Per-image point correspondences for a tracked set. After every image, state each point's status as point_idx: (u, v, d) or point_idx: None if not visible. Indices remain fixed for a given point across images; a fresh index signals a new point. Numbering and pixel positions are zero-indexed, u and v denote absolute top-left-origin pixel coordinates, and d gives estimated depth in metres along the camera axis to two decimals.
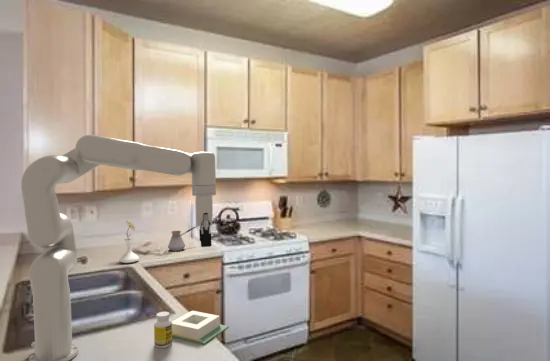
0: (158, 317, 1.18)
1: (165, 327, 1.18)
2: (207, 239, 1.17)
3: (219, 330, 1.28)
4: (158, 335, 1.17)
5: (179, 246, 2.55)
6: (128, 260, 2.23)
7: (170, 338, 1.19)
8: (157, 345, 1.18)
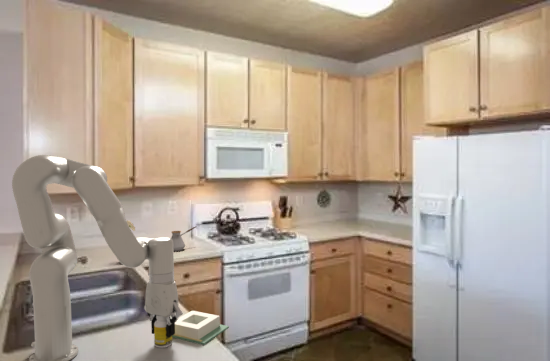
0: (158, 317, 1.18)
1: (165, 327, 1.18)
2: (173, 328, 1.18)
3: (219, 330, 1.28)
4: (158, 334, 1.17)
5: (179, 246, 2.55)
6: None
7: (170, 338, 1.19)
8: (157, 345, 1.18)
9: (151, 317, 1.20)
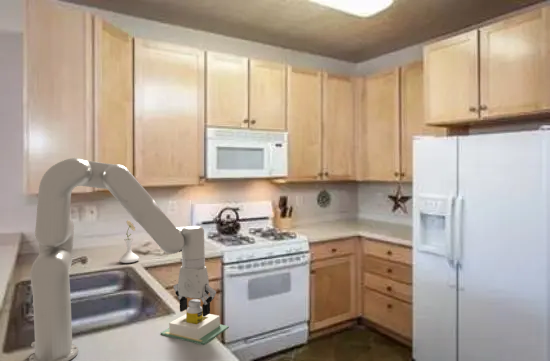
0: (190, 304, 1.27)
1: (197, 313, 1.27)
2: (209, 307, 1.27)
3: (219, 330, 1.28)
4: (191, 320, 1.27)
5: None
6: (128, 260, 2.23)
7: None
8: None
9: (179, 296, 1.30)
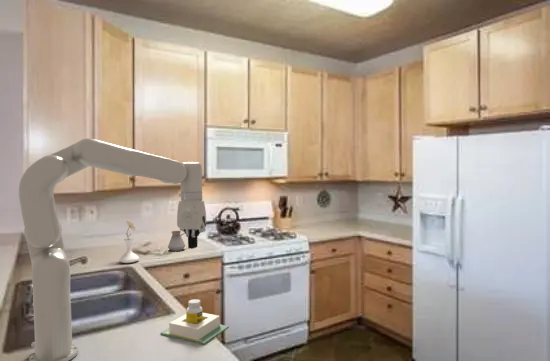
0: (190, 304, 1.27)
1: (197, 313, 1.27)
2: (196, 241, 1.36)
3: (219, 330, 1.28)
4: (190, 320, 1.27)
5: (179, 246, 2.55)
6: (128, 260, 2.23)
7: None
8: None
9: (188, 233, 1.35)
